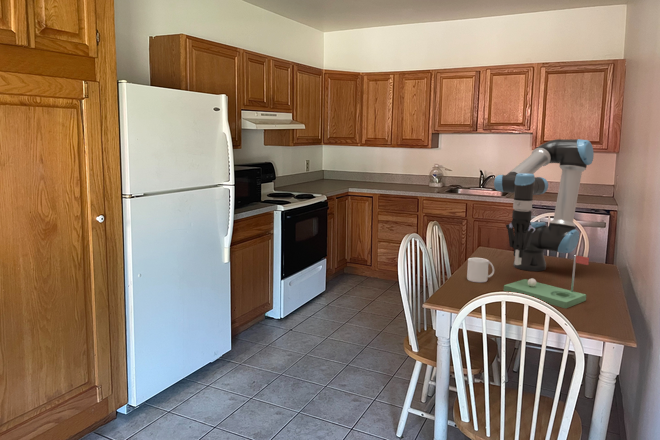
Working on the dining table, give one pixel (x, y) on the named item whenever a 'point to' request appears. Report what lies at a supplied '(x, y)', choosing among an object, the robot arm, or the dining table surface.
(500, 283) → the dining table surface
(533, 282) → the ball
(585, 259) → the flag pin
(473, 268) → the mug
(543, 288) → the green
